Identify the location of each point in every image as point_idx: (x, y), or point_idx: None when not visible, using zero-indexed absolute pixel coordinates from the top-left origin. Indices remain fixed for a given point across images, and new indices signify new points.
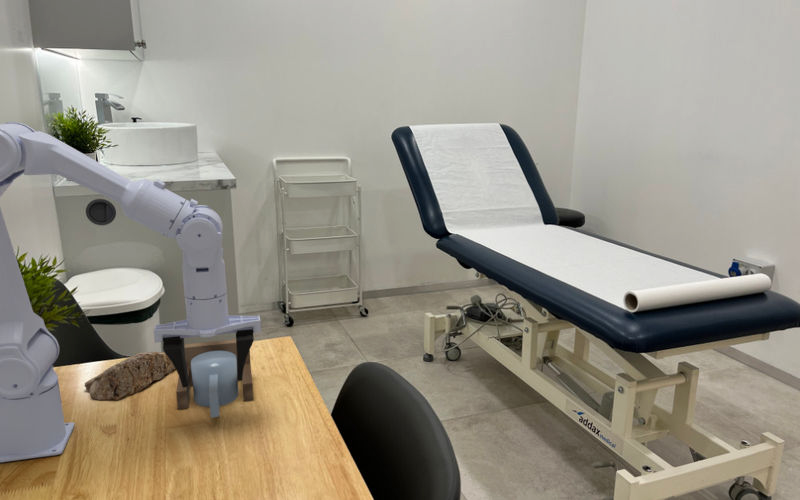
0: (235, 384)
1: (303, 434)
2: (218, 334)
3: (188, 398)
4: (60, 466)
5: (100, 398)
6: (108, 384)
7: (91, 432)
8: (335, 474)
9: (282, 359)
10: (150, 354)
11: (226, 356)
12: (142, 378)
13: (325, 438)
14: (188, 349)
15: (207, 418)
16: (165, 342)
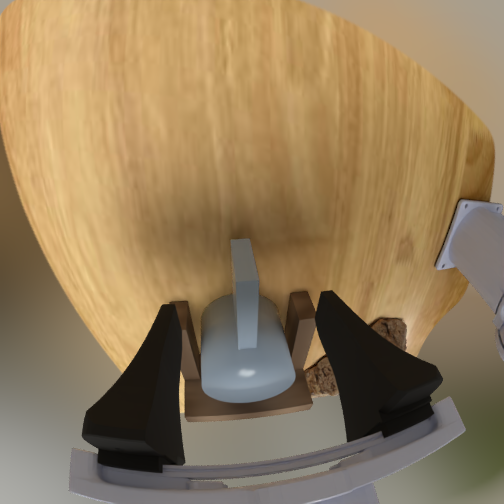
0: (203, 334)
1: (53, 168)
2: (240, 464)
3: (289, 315)
4: (462, 171)
5: (397, 320)
6: (396, 337)
7: (424, 247)
8: (13, 39)
9: None
10: None
11: (223, 391)
12: None
13: (19, 152)
14: (294, 403)
15: (255, 257)
16: (424, 405)
